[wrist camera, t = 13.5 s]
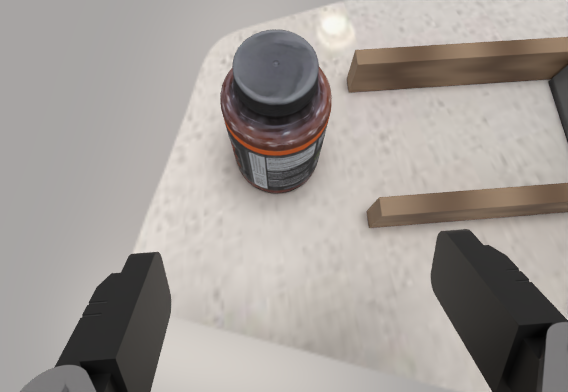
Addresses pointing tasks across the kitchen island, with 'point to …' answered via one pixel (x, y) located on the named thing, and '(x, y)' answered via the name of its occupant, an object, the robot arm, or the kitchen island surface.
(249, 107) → the supplement bottle
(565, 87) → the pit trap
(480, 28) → the kitchen island surface
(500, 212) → the walnut channel
